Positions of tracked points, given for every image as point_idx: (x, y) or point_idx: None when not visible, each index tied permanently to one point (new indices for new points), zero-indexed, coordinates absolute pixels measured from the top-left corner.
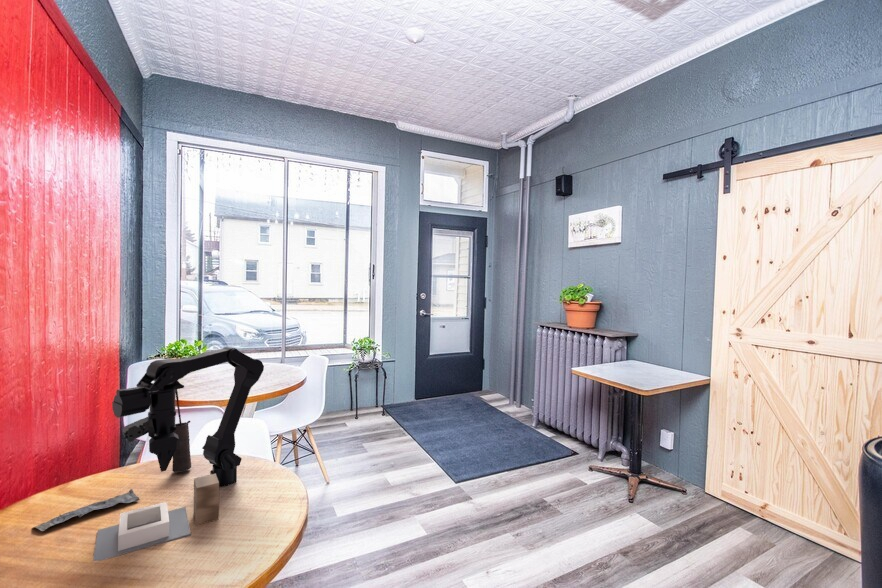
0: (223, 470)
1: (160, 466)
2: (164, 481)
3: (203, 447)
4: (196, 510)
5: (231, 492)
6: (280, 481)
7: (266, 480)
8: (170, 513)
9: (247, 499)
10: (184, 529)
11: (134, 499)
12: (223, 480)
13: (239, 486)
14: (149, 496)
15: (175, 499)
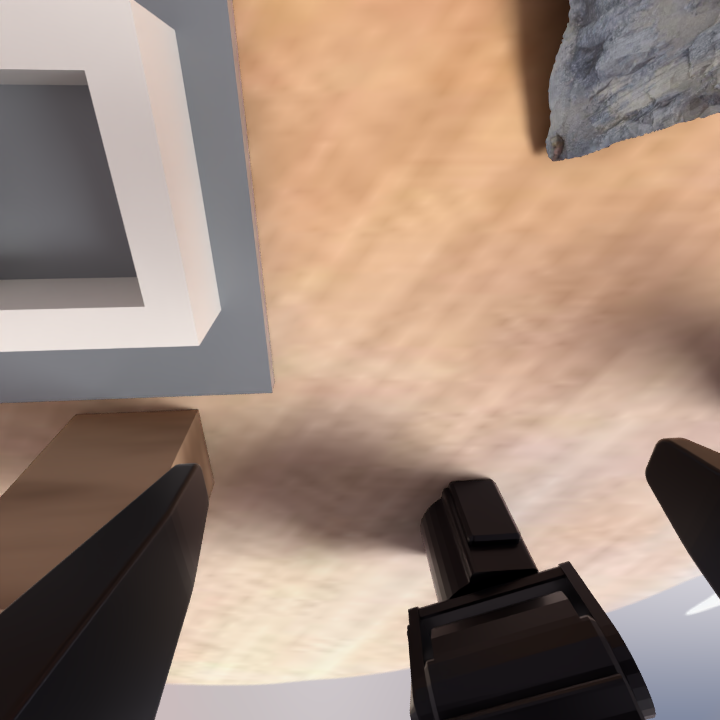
0: (441, 592)
1: (106, 530)
2: (709, 298)
3: (617, 693)
4: (19, 476)
5: (344, 537)
6: (331, 655)
7: (370, 627)
8: (229, 326)
9: (244, 574)
10: (14, 381)
11: (571, 128)
12: (428, 543)
13: (381, 561)
14: (575, 218)
15: (431, 343)
